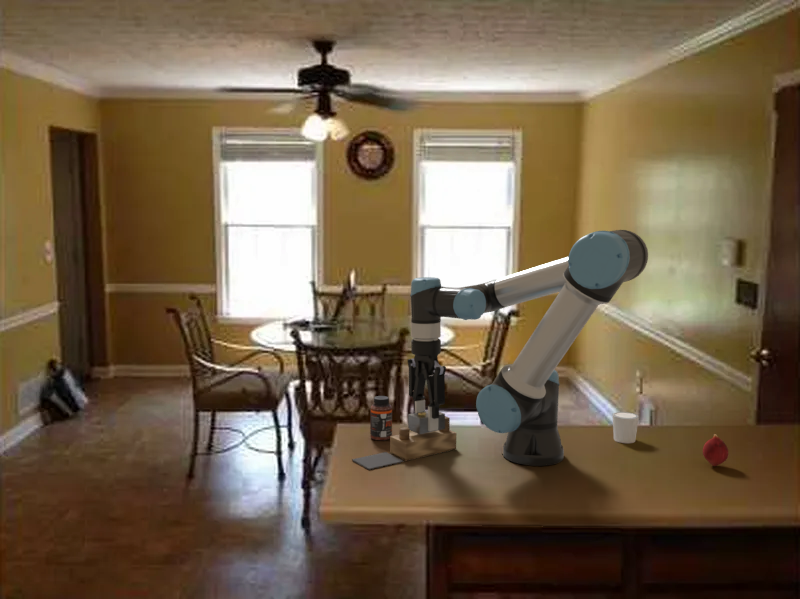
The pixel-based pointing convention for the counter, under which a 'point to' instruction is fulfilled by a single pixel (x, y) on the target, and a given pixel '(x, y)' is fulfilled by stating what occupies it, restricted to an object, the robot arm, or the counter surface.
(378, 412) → the supplement bottle
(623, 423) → the white cup
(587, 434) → the counter surface
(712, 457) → the onion
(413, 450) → the body
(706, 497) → the counter surface
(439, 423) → the lever cap
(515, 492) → the counter surface
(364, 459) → the mat
